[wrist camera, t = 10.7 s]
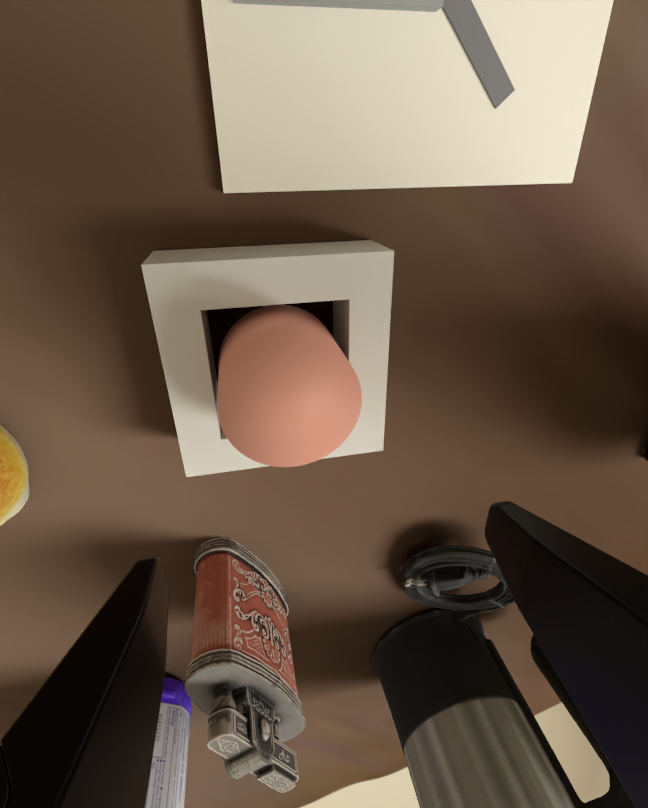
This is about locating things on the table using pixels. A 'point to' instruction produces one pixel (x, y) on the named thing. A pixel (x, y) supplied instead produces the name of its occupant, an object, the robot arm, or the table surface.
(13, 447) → the bread roll
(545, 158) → the sheet
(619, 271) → the table surface
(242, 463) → the button housing
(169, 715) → the bottle
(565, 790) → the milk frother
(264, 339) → the button
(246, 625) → the lighter
